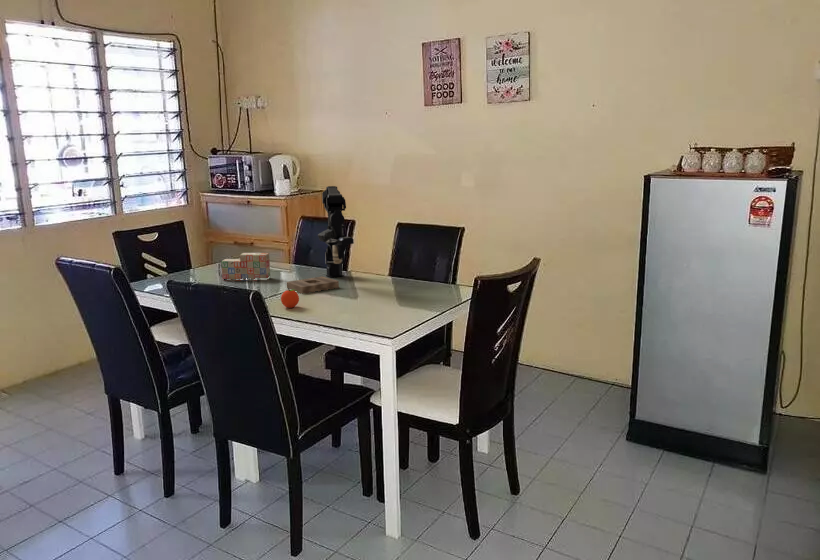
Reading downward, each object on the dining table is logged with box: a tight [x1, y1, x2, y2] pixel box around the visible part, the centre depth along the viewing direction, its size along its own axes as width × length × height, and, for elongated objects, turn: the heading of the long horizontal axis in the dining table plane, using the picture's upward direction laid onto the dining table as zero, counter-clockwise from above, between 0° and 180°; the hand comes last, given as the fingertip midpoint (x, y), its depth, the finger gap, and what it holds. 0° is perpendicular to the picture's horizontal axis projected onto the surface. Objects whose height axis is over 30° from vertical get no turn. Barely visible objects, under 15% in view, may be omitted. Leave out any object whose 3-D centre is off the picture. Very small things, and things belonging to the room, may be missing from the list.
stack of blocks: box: [220, 252, 271, 280], centre depth 306 cm, size 21×6×12 cm, turn 86°
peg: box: [332, 245, 342, 264], centre depth 288 cm, size 4×4×8 cm
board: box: [286, 276, 340, 295], centre depth 285 cm, size 18×14×3 cm
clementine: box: [280, 289, 300, 309], centre depth 252 cm, size 8×7×7 cm
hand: (337, 258), depth 288 cm, fingers closed on peg, 4 cm apart
